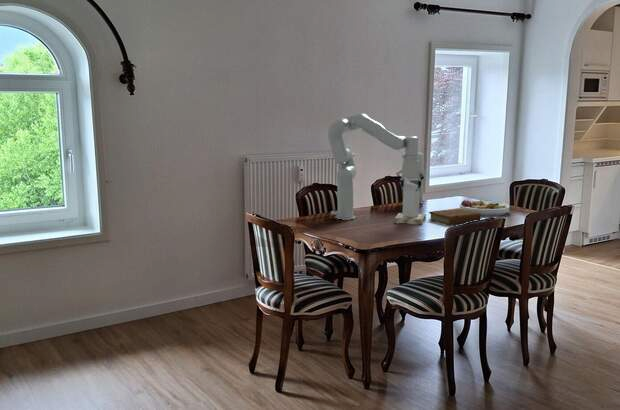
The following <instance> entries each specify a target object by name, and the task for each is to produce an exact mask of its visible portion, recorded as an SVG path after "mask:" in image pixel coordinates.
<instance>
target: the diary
mask: <svg viewBox="0 0 620 410" xmlns="http://www.w3.org/2000/svg"><path fill="white" fill-rule="evenodd" d="M428 212H429V214H430V219H428V221H430V220H431V221H430V222H433V221H434V223H437V222H438V223H437V224H441V225H444V224H445V226H449V227H452V226H458V224H459V225H464V224H463V223H466V222H470V221H474V220H480V219H481V220H482V216H481V214H480V213H478V212H474V211H469V210H465V209H461V208H460V207H458V208H450V209H448V208H447V209H441V210H440V209H439V210H434V211H428Z"/></svg>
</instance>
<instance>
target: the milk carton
mask: <svg viewBox="0 0 620 410" xmlns="http://www.w3.org/2000/svg"><path fill="white" fill-rule="evenodd" d="M402 193H403V195H402V201H403V205H402V213H403V214H402V216H406V217H412V218H413V217H416V216H419V214H420V207H419V200H420V190H419V188H418V185H415V184H407V185H406V187H405V189H404V188H403V192H402Z"/></svg>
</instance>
